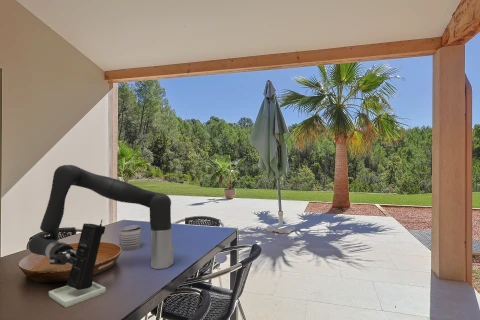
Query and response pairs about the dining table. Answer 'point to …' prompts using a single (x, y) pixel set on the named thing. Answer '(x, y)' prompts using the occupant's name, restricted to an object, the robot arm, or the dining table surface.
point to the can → (130, 238)
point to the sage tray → (75, 294)
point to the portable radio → (86, 256)
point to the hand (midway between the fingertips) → (79, 261)
